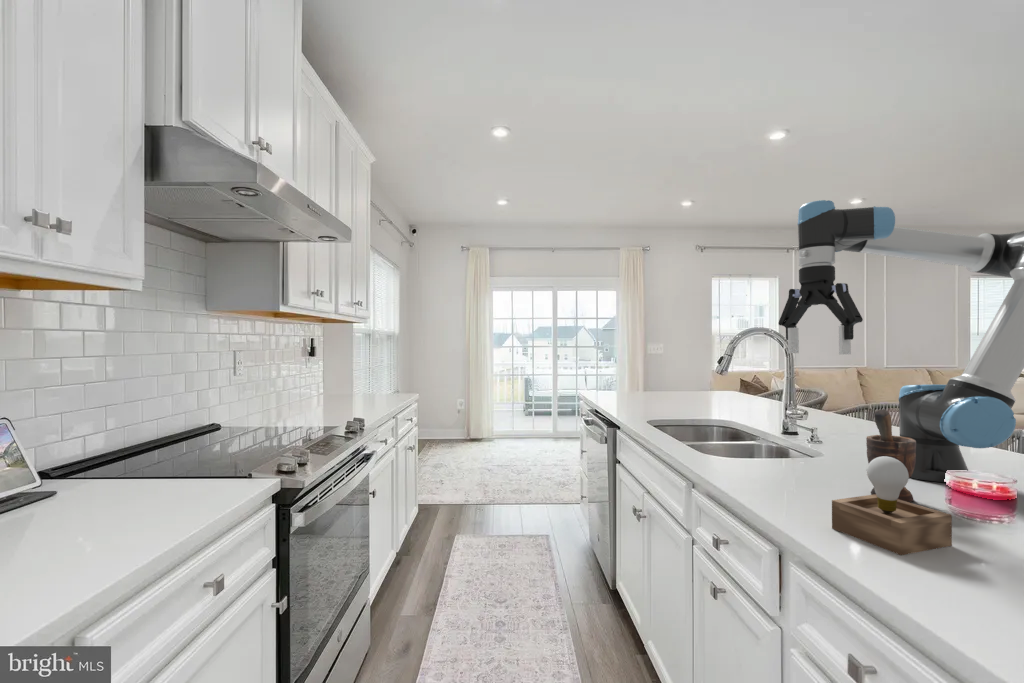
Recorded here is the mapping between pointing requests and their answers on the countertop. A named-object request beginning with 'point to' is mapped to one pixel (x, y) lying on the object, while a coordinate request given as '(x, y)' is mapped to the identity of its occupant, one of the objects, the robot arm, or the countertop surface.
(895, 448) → the mortar and pestle
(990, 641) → the countertop surface
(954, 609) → the countertop surface
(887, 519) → the tray
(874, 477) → the light bulb
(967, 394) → the robot arm
